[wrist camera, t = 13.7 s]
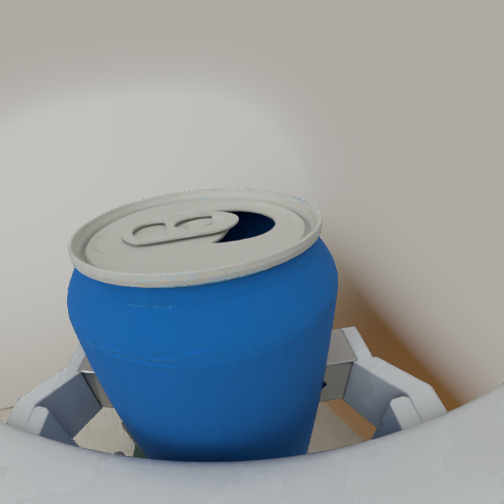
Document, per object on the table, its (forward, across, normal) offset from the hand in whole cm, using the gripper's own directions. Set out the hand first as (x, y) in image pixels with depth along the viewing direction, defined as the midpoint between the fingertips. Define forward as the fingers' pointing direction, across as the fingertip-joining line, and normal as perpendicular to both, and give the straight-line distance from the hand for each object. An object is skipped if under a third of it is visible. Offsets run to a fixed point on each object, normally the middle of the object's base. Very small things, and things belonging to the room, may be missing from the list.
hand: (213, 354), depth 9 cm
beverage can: (-1, 0, +7) cm, 7 cm away
